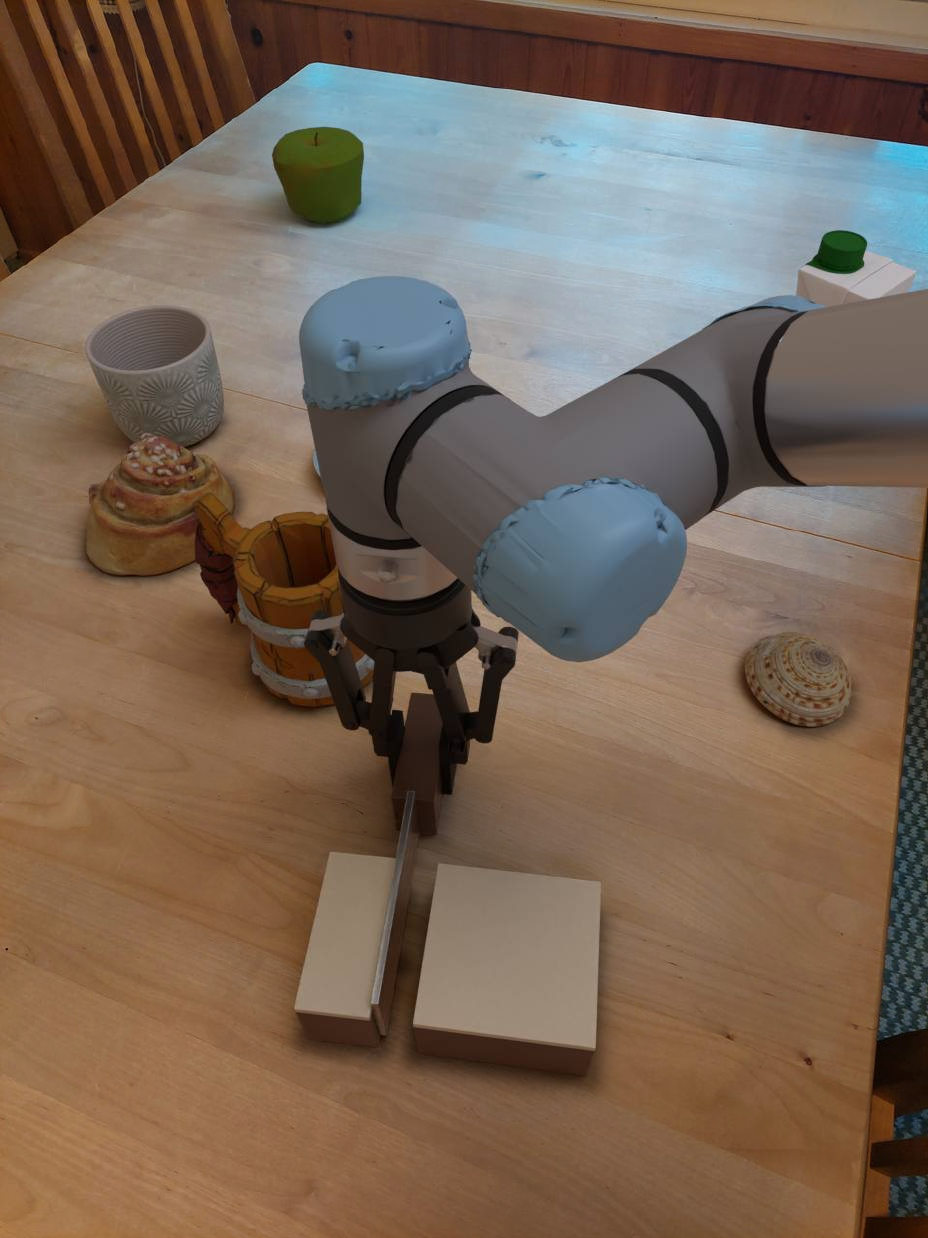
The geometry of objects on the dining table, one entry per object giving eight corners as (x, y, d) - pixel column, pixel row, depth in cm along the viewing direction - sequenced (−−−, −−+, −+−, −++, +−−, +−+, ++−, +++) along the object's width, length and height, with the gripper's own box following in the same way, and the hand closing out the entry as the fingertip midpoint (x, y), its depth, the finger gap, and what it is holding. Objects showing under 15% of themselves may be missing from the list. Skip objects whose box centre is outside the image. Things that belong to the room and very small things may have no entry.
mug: (340, 732, 72) (313, 608, 61) (182, 655, 77) (130, 528, 66) (410, 640, 78) (397, 512, 67) (259, 575, 84) (223, 446, 72)
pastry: (245, 473, 93) (229, 409, 87) (213, 578, 83) (192, 514, 77) (119, 471, 94) (94, 407, 87) (73, 576, 84) (41, 512, 78)
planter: (207, 468, 94) (180, 378, 85) (97, 454, 95) (61, 365, 87) (249, 398, 102) (228, 310, 93) (147, 386, 103) (118, 299, 95)
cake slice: (378, 1048, 57) (369, 1018, 52) (308, 1039, 57) (293, 1009, 52) (403, 896, 63) (397, 857, 58) (340, 889, 63) (329, 851, 59)
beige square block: (586, 1076, 55) (595, 1048, 51) (418, 1053, 56) (412, 1024, 52) (592, 919, 62) (601, 881, 57) (441, 901, 63) (438, 863, 58)
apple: (369, 192, 135) (361, 110, 126) (369, 230, 127) (360, 146, 119) (286, 195, 135) (272, 114, 126) (280, 234, 127) (265, 150, 118)
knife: (414, 728, 71) (410, 682, 67) (452, 732, 71) (450, 685, 66) (359, 1033, 57) (348, 1001, 52) (406, 1039, 56) (399, 1007, 52)
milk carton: (793, 393, 101) (848, 215, 85) (865, 429, 96) (937, 249, 81) (746, 426, 97) (795, 247, 82) (819, 465, 92) (885, 284, 77)
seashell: (785, 608, 77) (870, 637, 71) (790, 662, 80) (871, 694, 73) (719, 654, 74) (802, 689, 67) (726, 708, 76) (806, 746, 70)
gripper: (245, 595, 49) (309, 808, 66) (543, 622, 47) (526, 833, 65) (281, 502, 53) (332, 724, 71) (552, 523, 52) (535, 745, 70)
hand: (424, 776), depth 68 cm, fingers closed on knife, 3 cm apart
